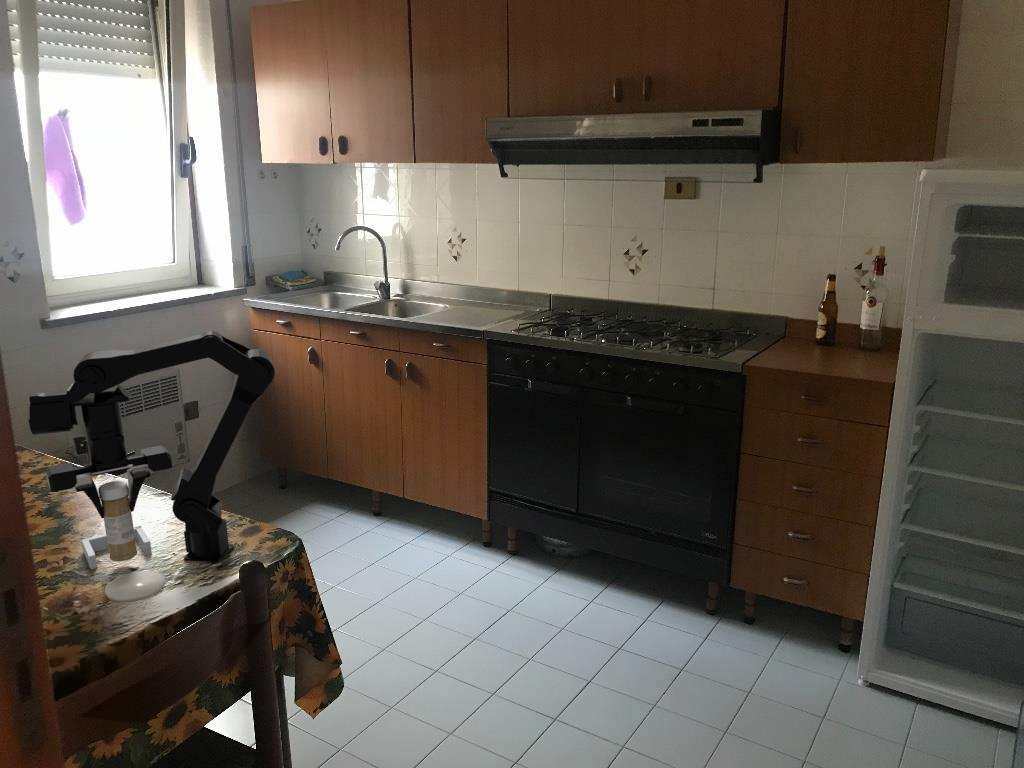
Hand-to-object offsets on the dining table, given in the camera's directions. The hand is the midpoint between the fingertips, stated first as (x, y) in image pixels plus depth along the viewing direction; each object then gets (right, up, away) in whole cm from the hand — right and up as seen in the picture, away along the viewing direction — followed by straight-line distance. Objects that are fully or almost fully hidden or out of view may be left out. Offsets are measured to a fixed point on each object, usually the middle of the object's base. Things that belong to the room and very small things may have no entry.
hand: (117, 514), depth 142 cm
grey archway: (-3, -8, +7) cm, 11 cm away
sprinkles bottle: (0, -8, +2) cm, 8 cm away
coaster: (+5, -11, -5) cm, 14 cm away
